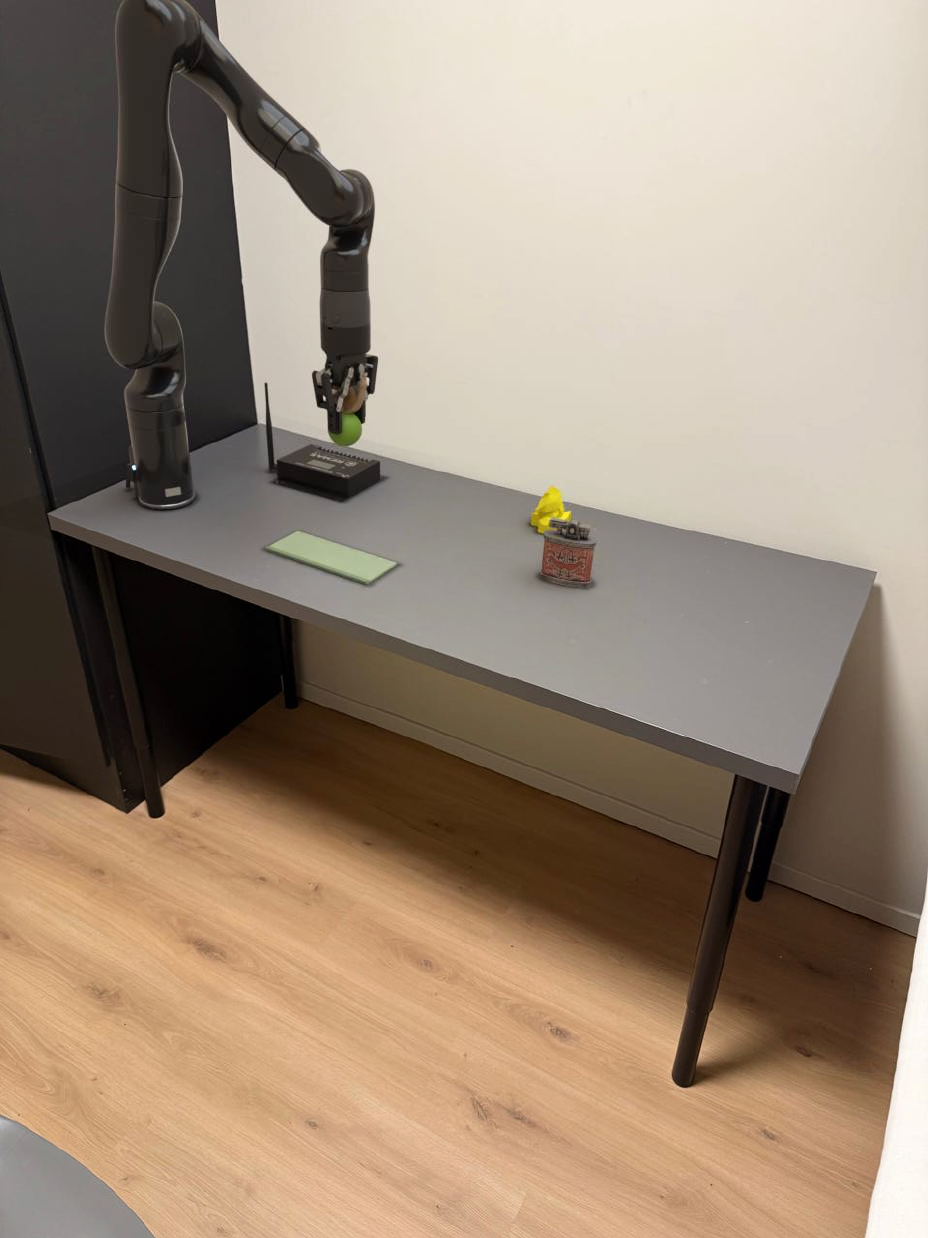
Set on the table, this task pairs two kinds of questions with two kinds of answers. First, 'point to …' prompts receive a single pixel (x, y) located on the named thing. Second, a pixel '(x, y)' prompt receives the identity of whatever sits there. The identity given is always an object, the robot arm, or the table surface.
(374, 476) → the wireless controller
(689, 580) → the table surface
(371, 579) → the front mat
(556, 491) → the crumpled paper
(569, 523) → the lighter
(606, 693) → the table surface
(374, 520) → the table surface
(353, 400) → the snail figurine
